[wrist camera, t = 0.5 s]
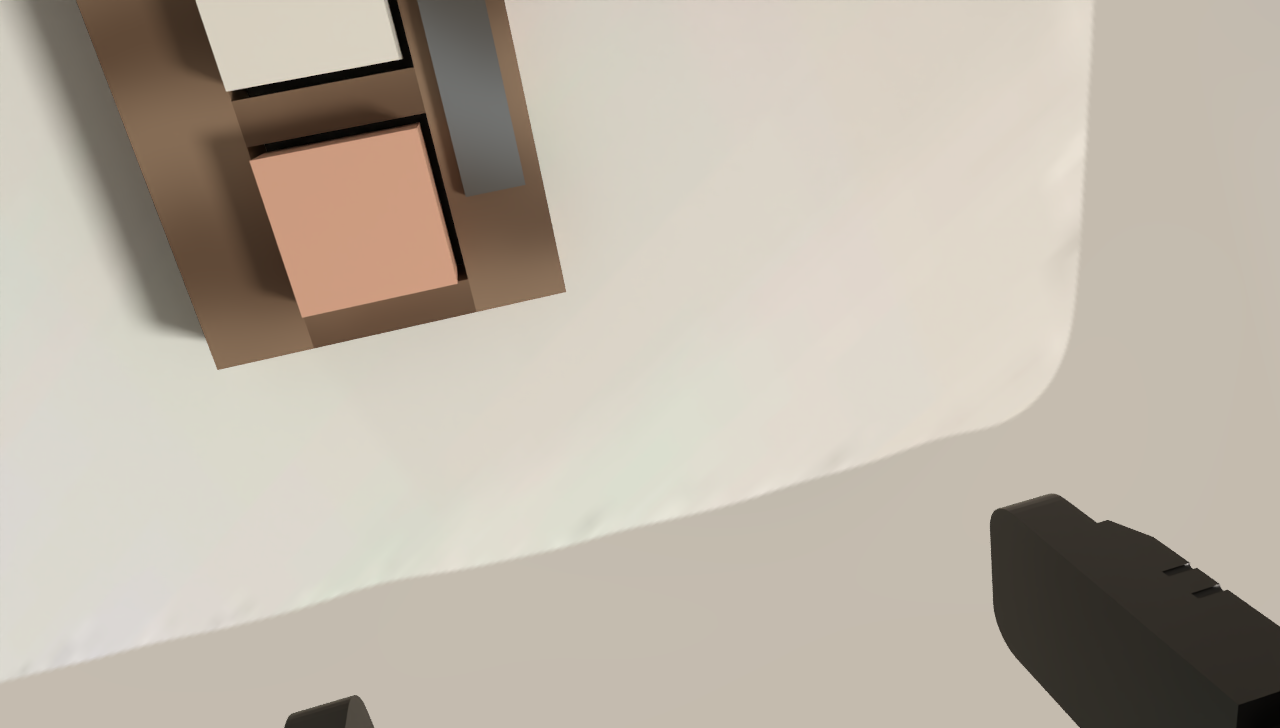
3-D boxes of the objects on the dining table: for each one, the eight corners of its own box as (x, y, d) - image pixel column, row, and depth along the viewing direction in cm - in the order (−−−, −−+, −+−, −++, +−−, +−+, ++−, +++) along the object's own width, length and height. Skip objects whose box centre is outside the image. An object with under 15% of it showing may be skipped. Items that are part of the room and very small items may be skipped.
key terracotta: (265, 152, 28) (249, 161, 26) (419, 122, 29) (416, 128, 26) (313, 297, 30) (302, 317, 28) (457, 266, 30) (457, 283, 28)
